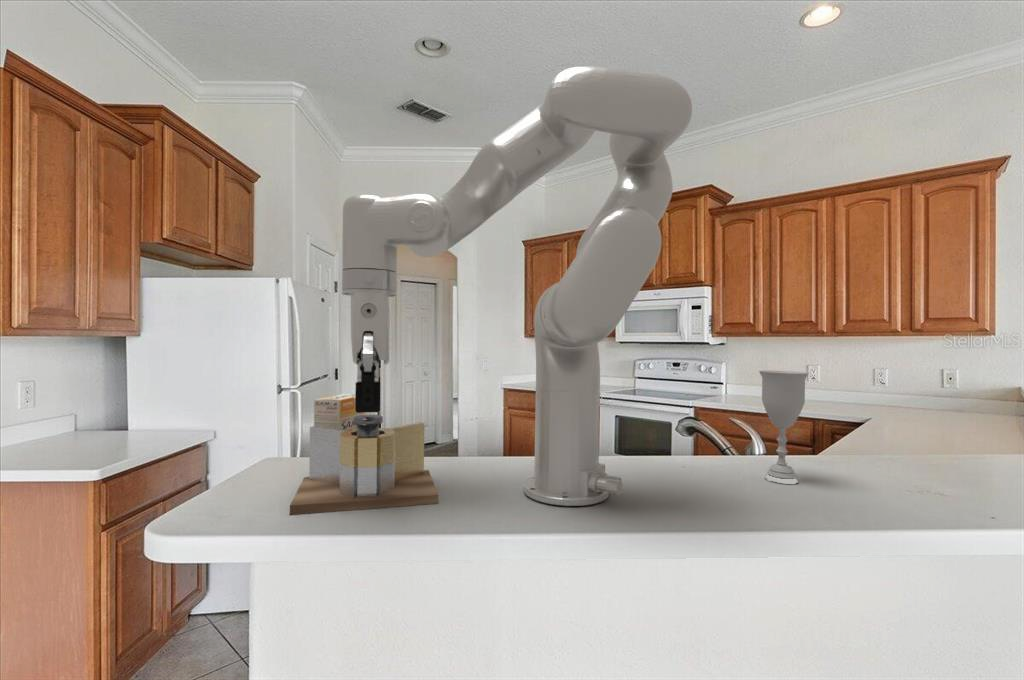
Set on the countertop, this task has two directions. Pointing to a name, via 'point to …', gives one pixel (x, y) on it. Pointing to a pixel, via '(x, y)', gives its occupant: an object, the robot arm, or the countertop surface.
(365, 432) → the hinge pin
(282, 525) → the countertop surface
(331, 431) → the hinge
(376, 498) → the walnut board
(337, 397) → the supplement box
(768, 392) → the chalice
